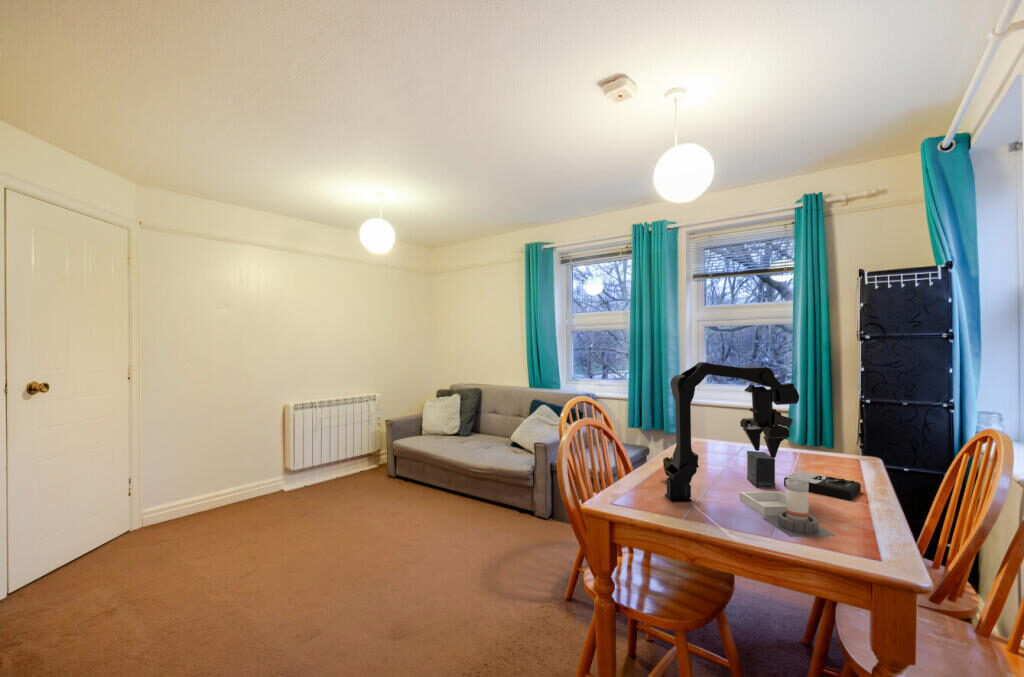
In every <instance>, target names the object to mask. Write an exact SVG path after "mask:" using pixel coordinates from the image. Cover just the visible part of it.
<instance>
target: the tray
mask: <svg viewBox="0 0 1024 677" xmlns="http://www.w3.org/2000/svg"><path fill="white" fill-rule="evenodd" d="M739 501H740V502H741V503H743V504H745V505H747V506H748V507H750V508H751V509H753V510H754V511H756V512H757V513H759V514H760V515H762V516H764V517H767V516H768V517H769V516H772V517H773V516H775V517H778V515H777V513H778V512H780V511H786V493H785V494H784V493H782V492H781V491H739Z"/></svg>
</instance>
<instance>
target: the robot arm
mask: <svg viewBox="0 0 1024 677" xmlns="http://www.w3.org/2000/svg"><path fill="white" fill-rule="evenodd" d="M708 375H709V376H719V377H727V378H731V379H732V378H734V379H739V380H742V381H745V382H748V383H751V384H748V386H747V387H746V388H745V389H744V392H747V393H751V401H752V402H751V404H752V405H751V407H750V408H749V412H751V413H752V417H750V418H749V417H747V418H745V417H744V418H742V419H740V422H739V423H740V427H741V428H742V430H743V431H744V433H745V434H746V436H747V438H748V439H749V441H750V443H751V445H752V447H753V448H754V450H755V451H756V452H760V449H761V448H760V446H761V435H762V433H763V439H764V441H765V446H766V448H767V450H768V453H769V455H770V456H771V458H774V459H776V457H777V454H778V451H779V447H780V445H781V442H783V441H784V440H787V439H788V438H790V437H791V431H790V429H791V427H792V425H793V422H794V421H793V420H794V419H793V418H791V417H788V416H785V415H782V412H780V411H778V410H777V409H776V408H774V407H773V403H774V405H776V406H781V405H784V406H785V405H797V404H798V403H799V401H800V394H799V391H798V390H797V388H796V387H795V383H792V382H786V383H781V382H780V381H779V380H778V378H776V376H775V373H774V371H773V370H772V368H770V367H766V366H758V365H755V366H740V367H738V366H731V365H723V364H716V363H709V362H707V361H705V362H704V361H699V362H697V363H696V364H695V365H694V366H691V367H690V368H689V369H687V370H685V371H684V372H682V373H681V374H677V375H673V377H672V378H671V380H670V388H671V393H672V396H673V399H674V402H675V435H676V437H675V440H676V441H675V442H676V443H675V449H674V450H673V453H672V456H671V457H672V463H671V464H670V465H669V466H668V467H667V468H666V469H665V471H664V473H666V474H665V476H666V477H667V478H666V493H664V496H665V497H666V498H667V499H668V500H670V502H672V503H686V502H687V503H691V502H693V500H692V498H691V497H692V486H691V481H692V479H693V477H694V476H695V475H696V474H697V470H698V469H700V467H699V463H698V462H699V455H698V454H697V453H696V452H695V451H693V449H692V424H691V423H692V419H691V418H692V415H691V414H692V413H691V412H692V411H691V410H692V408H691V404H692V401H693V399H694V396H695V393H696V387H697V386H698V385H700V384H701V382H703V381H704V379H705V378H706V377H707V376H708ZM755 384H756V385H760V386H756V385H755ZM766 387H767V388H766Z"/></svg>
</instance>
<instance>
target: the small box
mask: <svg viewBox="0 0 1024 677" xmlns="http://www.w3.org/2000/svg"><path fill="white" fill-rule="evenodd" d="M746 456H747V457H746V460H747V463H746V465H747V467H746V469H747V470H746V473H747V474H746V479H747V480H748V482H750V483H751V484H752V485H753V486H754V487H755V488H763V489H775V488H776V458H771V456H770V454H768V453H767V452H765V451H756V450H755V451H753V450H746Z"/></svg>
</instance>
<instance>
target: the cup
mask: <svg viewBox="0 0 1024 677" xmlns="http://www.w3.org/2000/svg"><path fill="white" fill-rule="evenodd" d="M672 457H673V456H671V457H670V458H669V457H668V456H666V457H663V459H662V464H663V470H664V473H665V469H666V468H667V467H668V466H669V465H670V464H671V463H672ZM665 475H666V473H665Z"/></svg>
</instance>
